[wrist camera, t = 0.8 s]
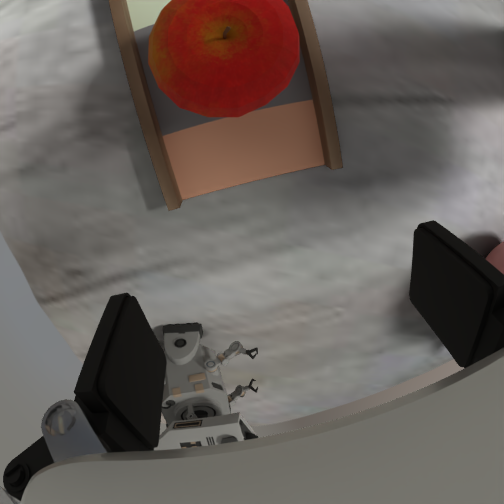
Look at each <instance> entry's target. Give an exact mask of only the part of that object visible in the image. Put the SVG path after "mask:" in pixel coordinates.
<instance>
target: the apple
mask: <svg viewBox="0 0 504 504" xmlns="http://www.w3.org/2000/svg"><path fill="white" fill-rule="evenodd" d="M299 62H300V44H299V33H298V29H297V27H296V24H295V22H294V19H293V16H292V14H291V11H290V9H289V6H288V5H287V4H286V3H285V2H284V1H283V0H171V1H170V2H169V3H168V4H167V5H166V6H165V7H164V8H163V9H162V10H161V12H160V14H159V16H158V18H157V20H156V22H155V24H154V26H153V29H152V31H151V33H150V35H149V49H148V64H149V66H150V69H151V71H152V73H153V76H154V78H155V80H156V82H157V85H158V87H159V88H160V89H161V90H162V91H163V92H164V93H165V94H166V95H167V96H168V97H169V98H170V99H171V100H172V101H173V102H174V103H175V104H176V105H177V106H178V107H179V108H182V109H185V110H188V111H191V112H194V113H197V114H200V115H203V116H206V117H241V116H243V115H245V114H247V113H249V112H251V111H254V110H256V109H258V108H260V107H262V106H265V105H266V104H268V103H269V102H270V101H271V100H272V99H273V98H275V97H276V96H277V95H278V94H279V93H280V92H282V91H283V90H284V89H285V88H286V87H288V85H289V83H290V81H291V79H292V76H293V74H294V72H295V70H296V68H297V66H298V64H299Z"/></svg>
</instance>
